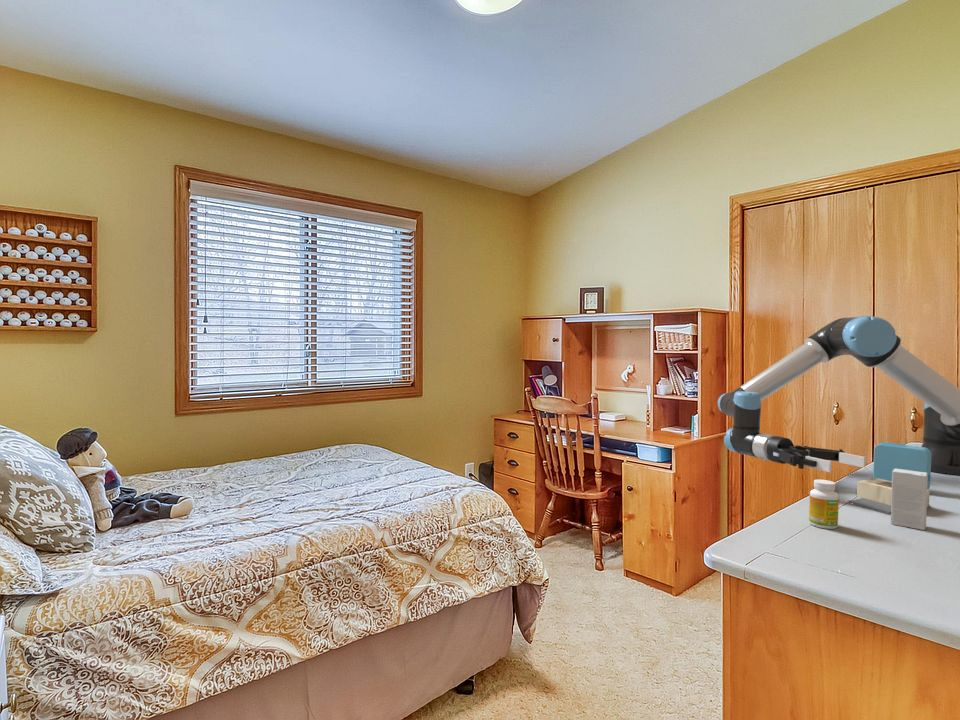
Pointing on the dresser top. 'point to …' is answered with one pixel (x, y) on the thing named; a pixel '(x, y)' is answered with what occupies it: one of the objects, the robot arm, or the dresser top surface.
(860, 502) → the charcoal mat
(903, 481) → the skincare box
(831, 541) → the dresser top surface
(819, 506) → the supplement bottle
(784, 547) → the dresser top surface
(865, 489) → the maple block
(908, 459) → the data package
